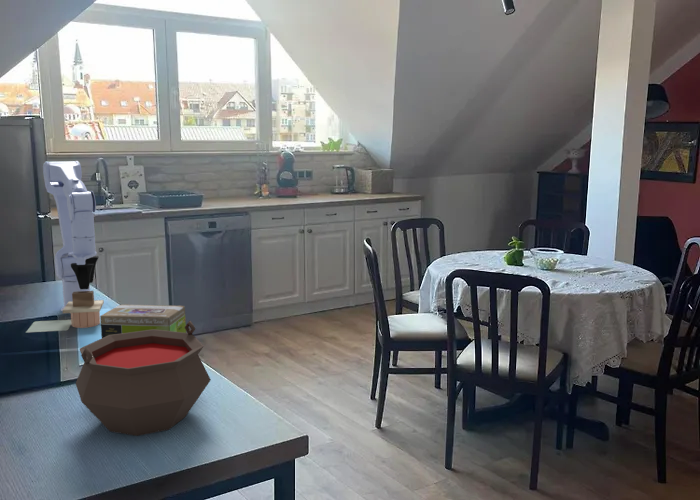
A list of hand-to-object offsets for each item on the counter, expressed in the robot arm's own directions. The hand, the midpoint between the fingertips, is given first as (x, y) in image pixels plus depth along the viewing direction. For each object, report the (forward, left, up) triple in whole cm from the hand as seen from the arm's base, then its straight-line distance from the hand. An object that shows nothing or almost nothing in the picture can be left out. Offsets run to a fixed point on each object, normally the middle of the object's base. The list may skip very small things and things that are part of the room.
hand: (86, 285), depth 180 cm
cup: (+5, 0, -10) cm, 11 cm away
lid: (+5, 0, -5) cm, 7 cm away
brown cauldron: (+68, +19, -10) cm, 71 cm away
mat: (+5, -9, -10) cm, 14 cm away
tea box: (+46, +18, -10) cm, 50 cm away
